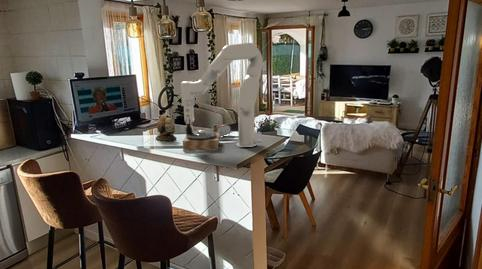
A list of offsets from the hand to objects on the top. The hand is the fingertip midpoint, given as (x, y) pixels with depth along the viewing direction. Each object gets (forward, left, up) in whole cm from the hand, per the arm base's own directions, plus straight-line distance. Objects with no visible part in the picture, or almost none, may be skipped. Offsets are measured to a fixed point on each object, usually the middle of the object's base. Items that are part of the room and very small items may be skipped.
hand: (189, 132), depth 208 cm
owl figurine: (+18, -21, -9) cm, 29 cm away
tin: (-19, -24, -9) cm, 32 cm away
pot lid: (-7, 0, -2) cm, 7 cm away
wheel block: (-7, 0, -9) cm, 11 cm away
